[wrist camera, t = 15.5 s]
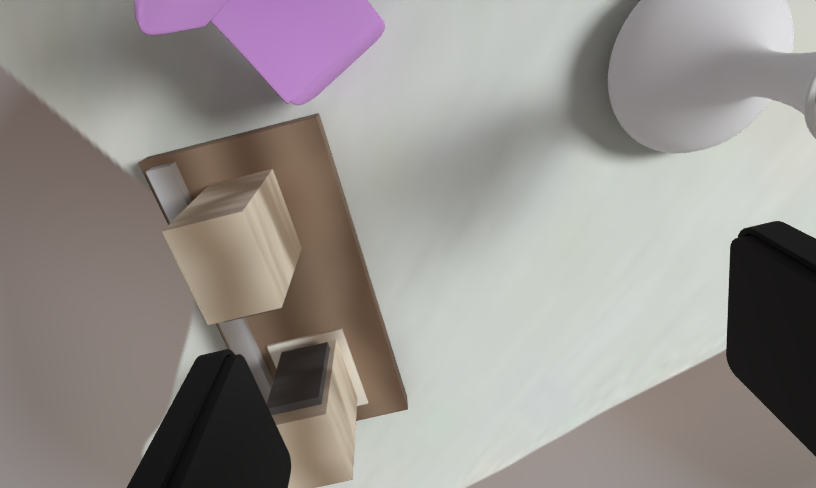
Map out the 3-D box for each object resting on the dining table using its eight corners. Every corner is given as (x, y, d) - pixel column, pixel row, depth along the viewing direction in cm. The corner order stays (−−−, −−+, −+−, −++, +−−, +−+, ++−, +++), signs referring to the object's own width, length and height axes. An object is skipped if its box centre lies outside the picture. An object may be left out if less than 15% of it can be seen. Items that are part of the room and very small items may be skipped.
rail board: (318, 113, 33) (297, 147, 25) (407, 396, 43) (413, 491, 35) (148, 157, 34) (68, 204, 25) (275, 426, 44) (249, 526, 35)
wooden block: (306, 409, 41) (290, 493, 34) (278, 345, 39) (255, 422, 31) (357, 397, 41) (352, 479, 34) (333, 333, 38) (322, 406, 31)
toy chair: (304, 105, 33) (250, 167, 19) (199, -10, 30) (49, -32, 16) (400, 16, 31) (416, 16, 17) (299, -116, 28) (222, -241, 14)
